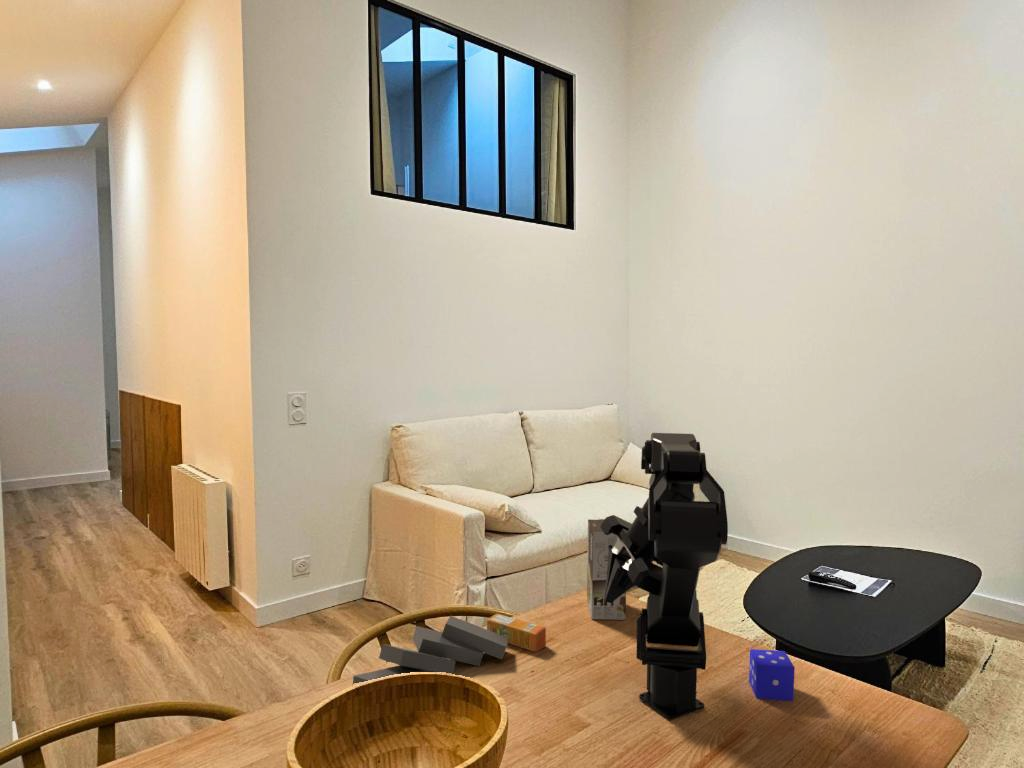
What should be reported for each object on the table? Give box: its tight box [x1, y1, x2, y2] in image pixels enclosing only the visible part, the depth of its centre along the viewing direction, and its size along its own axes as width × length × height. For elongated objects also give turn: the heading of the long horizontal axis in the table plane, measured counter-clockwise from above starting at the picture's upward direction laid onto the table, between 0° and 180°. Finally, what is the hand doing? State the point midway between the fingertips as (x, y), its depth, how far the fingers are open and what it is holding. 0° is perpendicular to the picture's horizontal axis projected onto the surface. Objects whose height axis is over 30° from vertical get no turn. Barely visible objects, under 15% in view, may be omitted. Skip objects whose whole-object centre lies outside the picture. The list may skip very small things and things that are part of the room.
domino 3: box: [412, 625, 485, 667], centre depth 107 cm, size 2×5×10 cm
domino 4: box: [442, 615, 509, 660], centre depth 109 cm, size 2×5×10 cm
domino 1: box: [352, 665, 430, 685], centre depth 95 cm, size 2×5×10 cm
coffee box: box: [586, 518, 627, 621], centre depth 128 cm, size 9×6×16 cm
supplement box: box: [486, 613, 547, 653], centre depth 115 cm, size 3×3×10 cm
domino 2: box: [378, 643, 457, 674], centre depth 101 cm, size 2×5×10 cm
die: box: [748, 648, 795, 702], centre depth 99 cm, size 5×5×5 cm
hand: (607, 600), depth 105 cm, fingers closed
